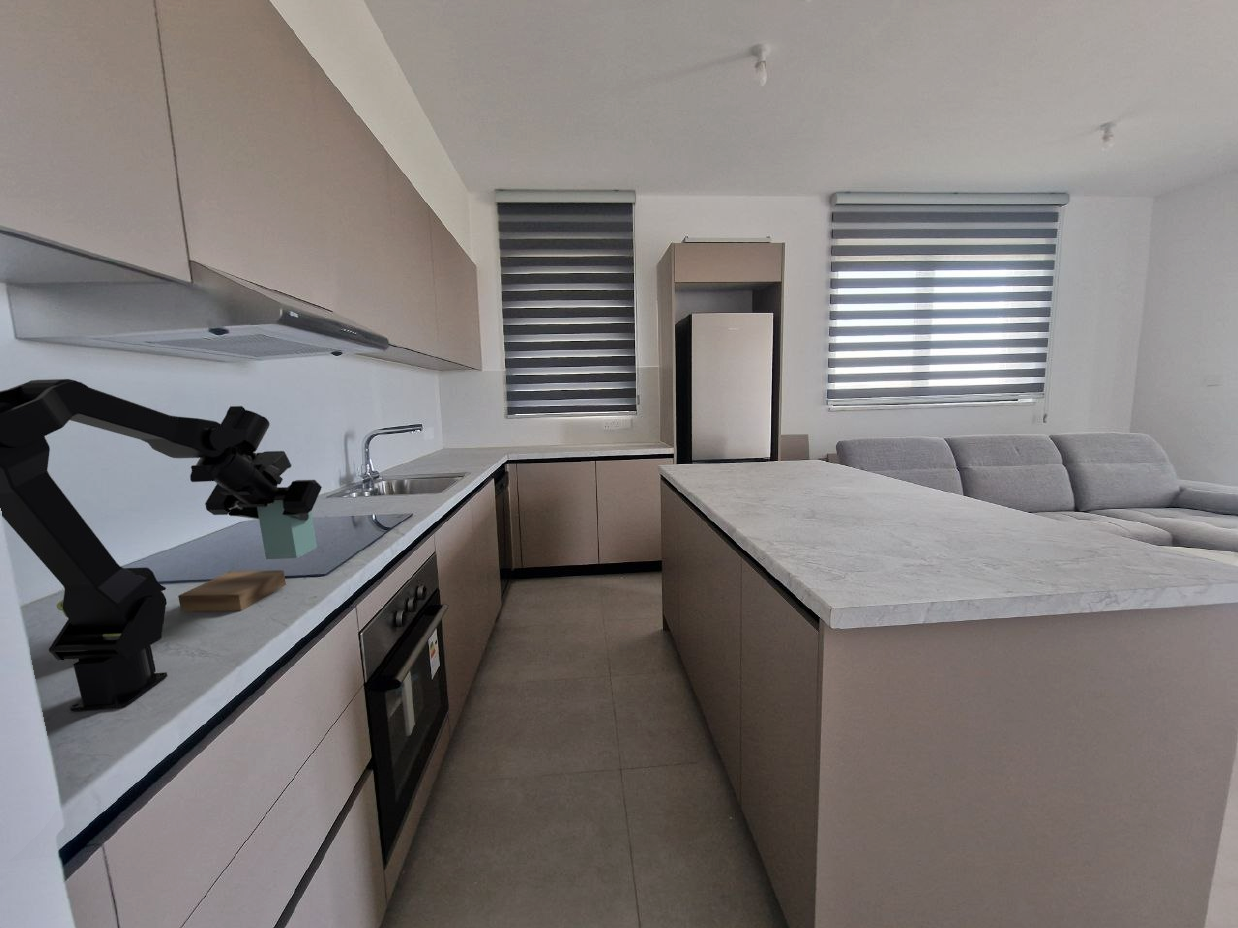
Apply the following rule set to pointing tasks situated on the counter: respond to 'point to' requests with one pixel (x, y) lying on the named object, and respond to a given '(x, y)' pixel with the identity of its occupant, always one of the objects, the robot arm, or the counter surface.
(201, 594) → the walnut block
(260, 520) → the tea tin
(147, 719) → the counter surface
